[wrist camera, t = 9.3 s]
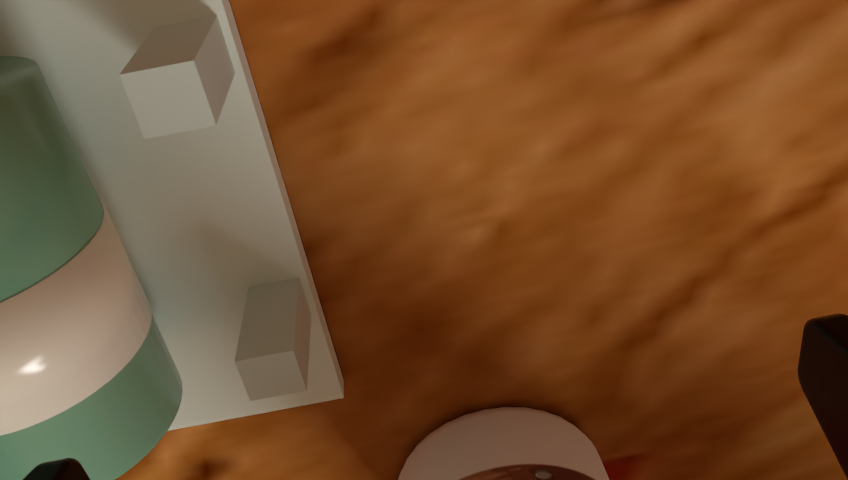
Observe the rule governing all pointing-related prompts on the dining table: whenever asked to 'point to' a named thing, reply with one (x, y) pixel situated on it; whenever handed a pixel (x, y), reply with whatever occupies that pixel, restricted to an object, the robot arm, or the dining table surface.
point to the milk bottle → (505, 449)
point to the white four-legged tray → (188, 193)
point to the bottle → (69, 305)
